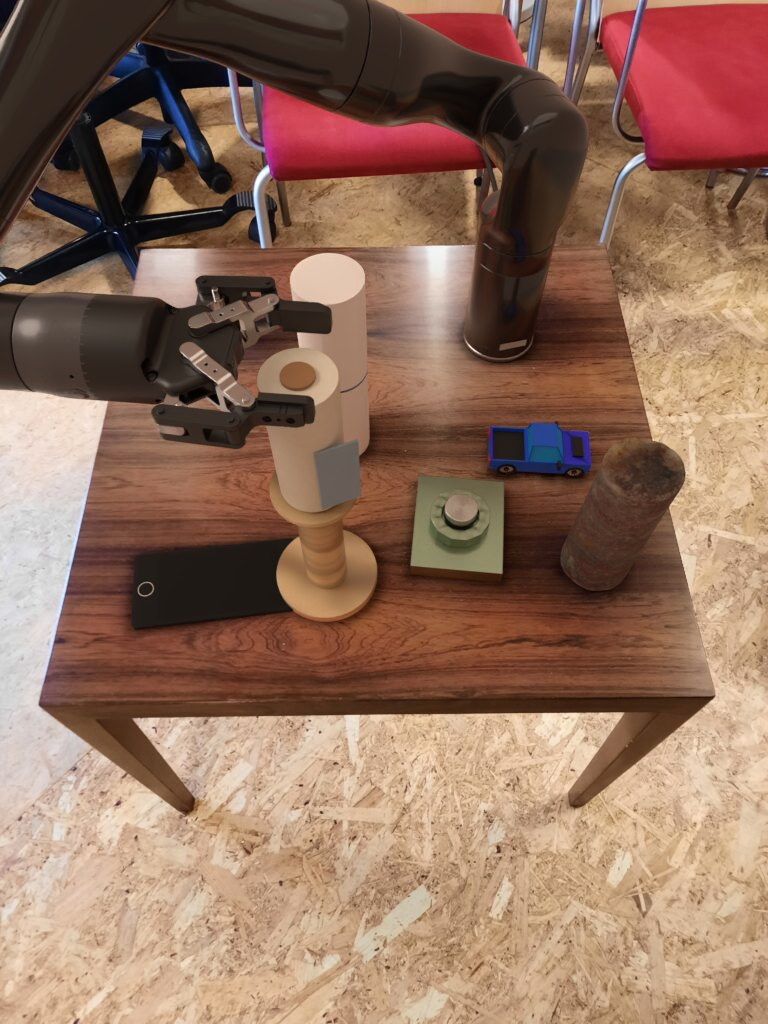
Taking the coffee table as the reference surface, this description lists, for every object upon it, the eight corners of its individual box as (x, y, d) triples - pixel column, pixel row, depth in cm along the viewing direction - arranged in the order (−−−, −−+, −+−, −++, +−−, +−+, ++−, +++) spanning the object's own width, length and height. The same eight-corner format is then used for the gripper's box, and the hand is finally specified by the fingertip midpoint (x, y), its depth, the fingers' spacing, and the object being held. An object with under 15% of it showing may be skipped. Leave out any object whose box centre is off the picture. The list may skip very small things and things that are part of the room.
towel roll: (271, 468, 66) (245, 357, 54) (336, 447, 68) (326, 334, 55) (293, 524, 63) (271, 419, 51) (361, 500, 64) (355, 393, 52)
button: (444, 500, 82) (445, 492, 80) (476, 503, 82) (478, 494, 80) (442, 528, 80) (443, 520, 79) (475, 531, 80) (477, 523, 78)
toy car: (587, 485, 87) (597, 461, 83) (486, 480, 88) (491, 455, 83) (583, 440, 91) (593, 415, 86) (486, 435, 91) (490, 410, 87)
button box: (417, 484, 87) (419, 465, 84) (501, 491, 87) (506, 472, 83) (409, 574, 81) (410, 557, 78) (500, 582, 81) (505, 566, 77)
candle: (608, 609, 79) (669, 512, 62) (546, 577, 81) (589, 474, 64) (635, 556, 82) (700, 450, 65) (574, 526, 84) (623, 416, 67)
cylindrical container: (362, 466, 89) (356, 309, 67) (305, 456, 90) (281, 298, 68) (375, 420, 92) (372, 258, 71) (319, 411, 93) (300, 248, 72)
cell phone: (136, 558, 83) (134, 554, 82) (296, 540, 84) (295, 536, 83) (133, 631, 78) (130, 628, 77) (302, 611, 79) (301, 608, 78)
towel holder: (286, 528, 84) (264, 432, 69) (382, 537, 84) (381, 441, 68) (269, 617, 78) (241, 533, 63) (371, 626, 78) (368, 544, 63)
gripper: (45, 388, 46) (302, 407, 45) (111, 239, 53) (333, 252, 52) (87, 458, 52) (313, 476, 51) (141, 316, 60) (339, 329, 59)
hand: (323, 363), depth 52 cm, fingers open, 8 cm apart
